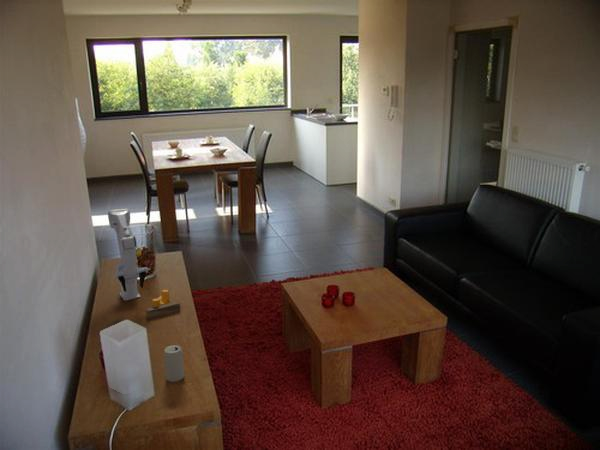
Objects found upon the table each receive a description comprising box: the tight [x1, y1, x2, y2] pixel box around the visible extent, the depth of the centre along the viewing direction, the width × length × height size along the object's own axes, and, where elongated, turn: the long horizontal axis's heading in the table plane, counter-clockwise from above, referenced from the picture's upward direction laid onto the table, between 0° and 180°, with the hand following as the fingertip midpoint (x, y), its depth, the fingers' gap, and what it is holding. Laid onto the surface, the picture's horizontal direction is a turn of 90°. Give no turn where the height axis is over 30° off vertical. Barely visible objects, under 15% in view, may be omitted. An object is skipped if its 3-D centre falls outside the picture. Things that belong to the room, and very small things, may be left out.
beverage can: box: [163, 344, 185, 383], centre depth 180 cm, size 6×6×12 cm
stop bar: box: [145, 301, 181, 319], centre depth 230 cm, size 2×15×4 cm, turn 123°
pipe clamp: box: [151, 289, 171, 308], centre depth 236 cm, size 12×4×6 cm, turn 170°
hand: (133, 289), depth 234 cm, fingers open, 7 cm apart
